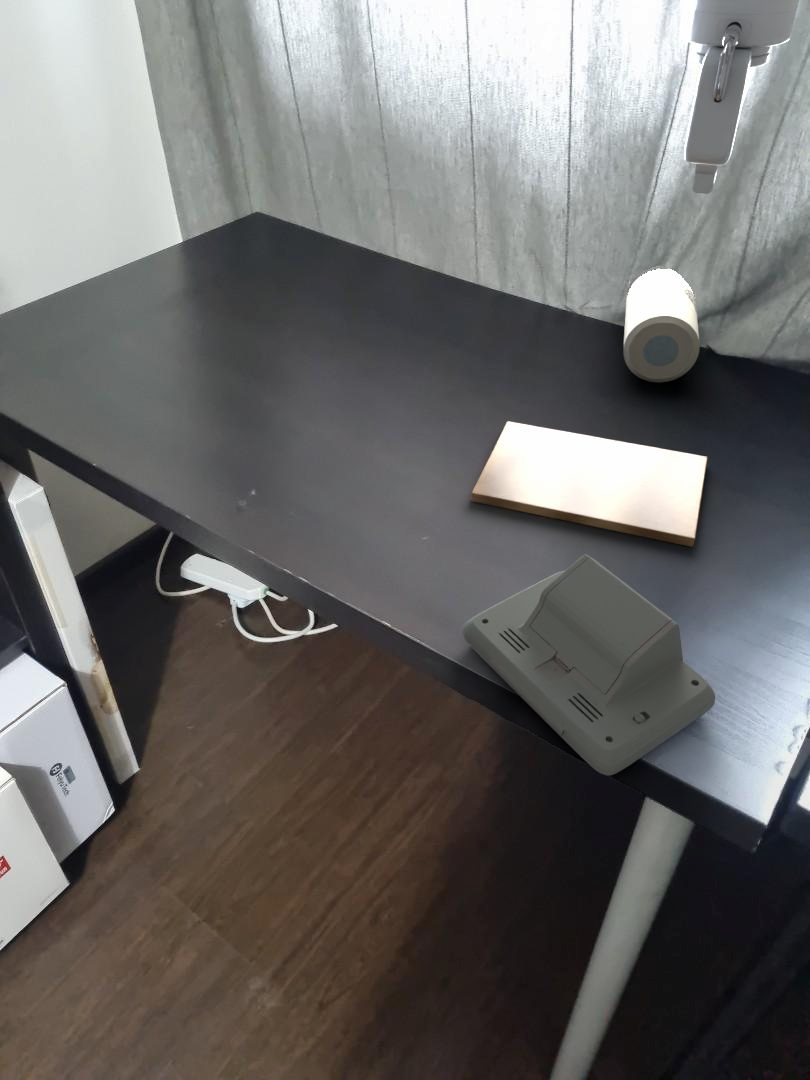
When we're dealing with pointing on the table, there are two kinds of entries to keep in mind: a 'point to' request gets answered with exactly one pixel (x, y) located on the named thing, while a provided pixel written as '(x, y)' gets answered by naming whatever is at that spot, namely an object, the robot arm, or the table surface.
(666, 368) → the travel mug
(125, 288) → the table surface
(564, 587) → the digital clock
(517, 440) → the wooden board
